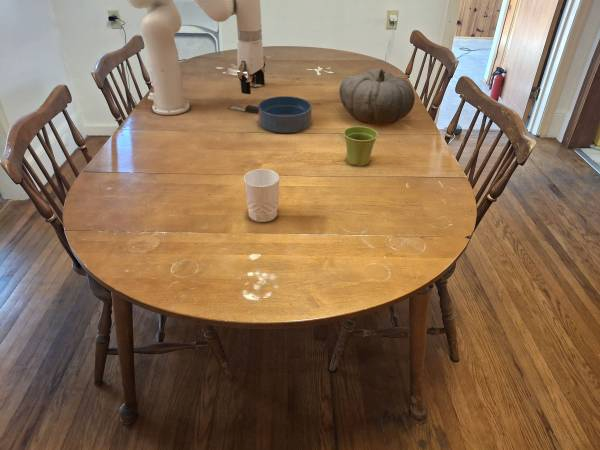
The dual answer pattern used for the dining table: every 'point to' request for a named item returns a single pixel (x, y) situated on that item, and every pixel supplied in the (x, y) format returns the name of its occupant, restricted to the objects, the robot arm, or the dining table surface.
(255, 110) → the black knife
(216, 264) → the dining table surface
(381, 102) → the gourd
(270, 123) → the bowl
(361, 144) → the plant pot
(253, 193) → the white cup
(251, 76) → the grey tall irregular piece
